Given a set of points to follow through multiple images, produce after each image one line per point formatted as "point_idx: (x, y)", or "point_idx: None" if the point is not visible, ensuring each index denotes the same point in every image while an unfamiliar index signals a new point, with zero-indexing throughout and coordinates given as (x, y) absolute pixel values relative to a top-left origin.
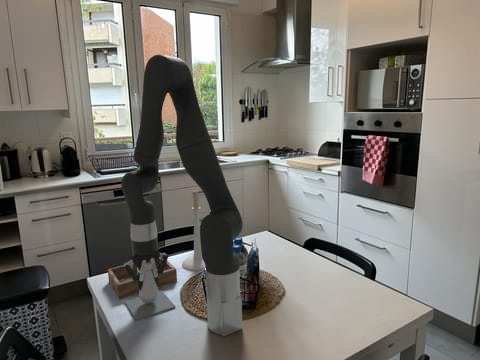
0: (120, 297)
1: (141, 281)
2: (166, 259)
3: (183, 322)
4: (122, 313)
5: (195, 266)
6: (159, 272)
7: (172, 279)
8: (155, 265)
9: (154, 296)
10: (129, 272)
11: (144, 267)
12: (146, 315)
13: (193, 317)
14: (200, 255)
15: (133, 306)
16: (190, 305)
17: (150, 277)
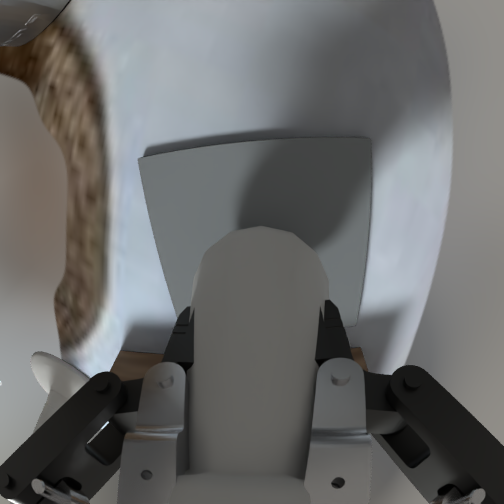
0: (356, 353)
1: (330, 361)
2: (14, 462)
3: (146, 19)
4: (395, 245)
5: (67, 378)
6: (121, 390)
7: (130, 364)
8: (122, 489)
9: (233, 232)
10: (489, 443)
11: None
12: (312, 141)
13: (95, 46)
14: (50, 400)
15: (343, 266)
16: (78, 150)
17: (232, 371)
